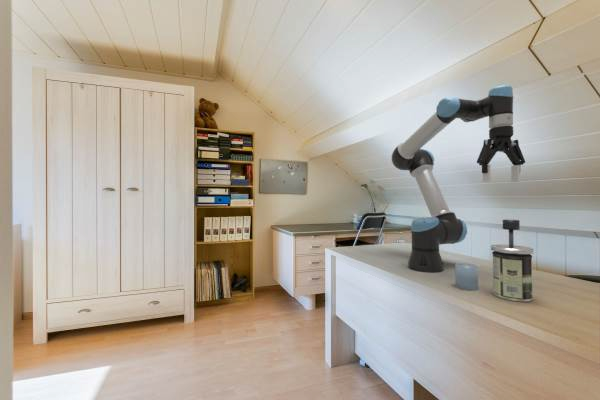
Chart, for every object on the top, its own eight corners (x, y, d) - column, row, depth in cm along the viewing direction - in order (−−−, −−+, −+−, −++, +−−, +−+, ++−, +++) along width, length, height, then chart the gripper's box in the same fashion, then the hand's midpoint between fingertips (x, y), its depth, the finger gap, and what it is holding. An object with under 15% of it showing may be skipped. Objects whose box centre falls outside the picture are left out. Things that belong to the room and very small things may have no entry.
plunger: (482, 248, 92) (482, 219, 92) (508, 247, 95) (507, 218, 95) (514, 255, 81) (514, 221, 81) (542, 253, 84) (542, 220, 84)
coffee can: (520, 291, 92) (519, 250, 92) (540, 303, 82) (540, 257, 82) (486, 289, 94) (486, 250, 94) (502, 300, 84) (502, 256, 84)
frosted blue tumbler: (450, 285, 100) (450, 263, 100) (466, 283, 101) (466, 262, 101) (466, 291, 93) (466, 268, 93) (482, 289, 95) (482, 267, 95)
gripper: (482, 123, 98) (482, 181, 98) (536, 126, 103) (537, 181, 103) (465, 128, 105) (466, 182, 105) (517, 131, 110) (517, 182, 110)
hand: (501, 182), depth 104 cm, fingers open, 13 cm apart
